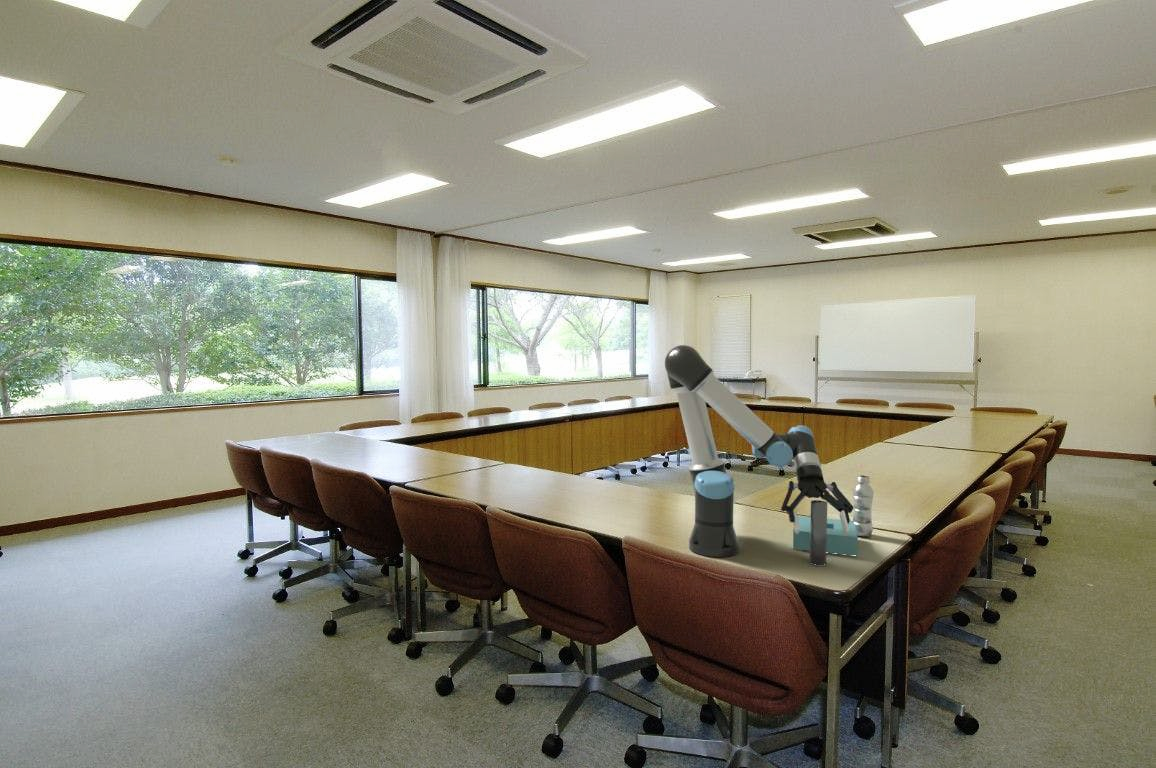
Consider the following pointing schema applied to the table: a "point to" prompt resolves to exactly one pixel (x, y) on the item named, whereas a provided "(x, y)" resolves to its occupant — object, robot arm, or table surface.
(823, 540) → the pin
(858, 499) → the plastic bottle
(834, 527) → the socket block
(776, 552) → the table surface
